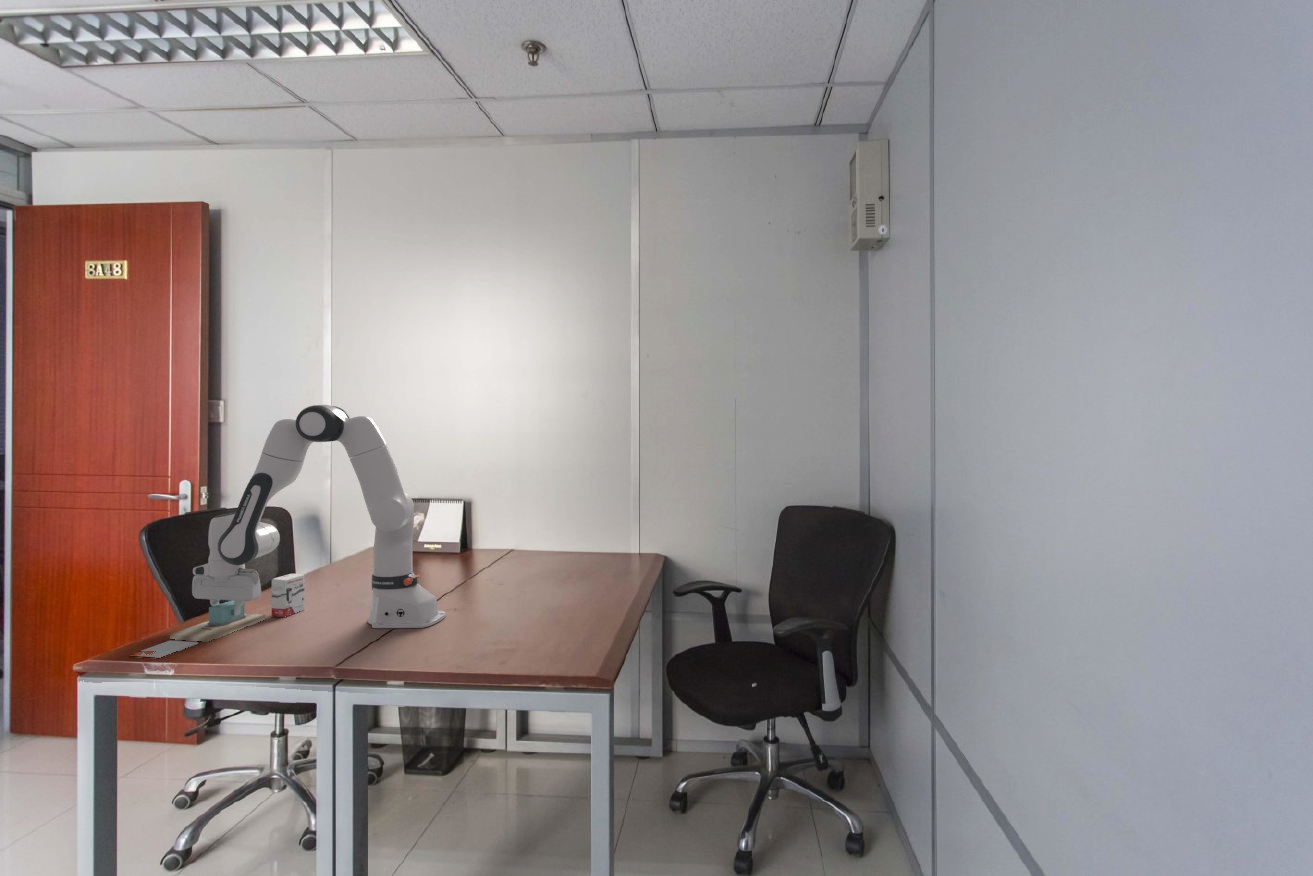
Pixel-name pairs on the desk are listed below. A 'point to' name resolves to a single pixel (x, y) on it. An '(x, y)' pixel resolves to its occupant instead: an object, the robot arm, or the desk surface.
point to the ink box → (288, 594)
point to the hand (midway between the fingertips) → (227, 614)
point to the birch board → (215, 629)
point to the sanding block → (224, 614)
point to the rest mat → (167, 648)
